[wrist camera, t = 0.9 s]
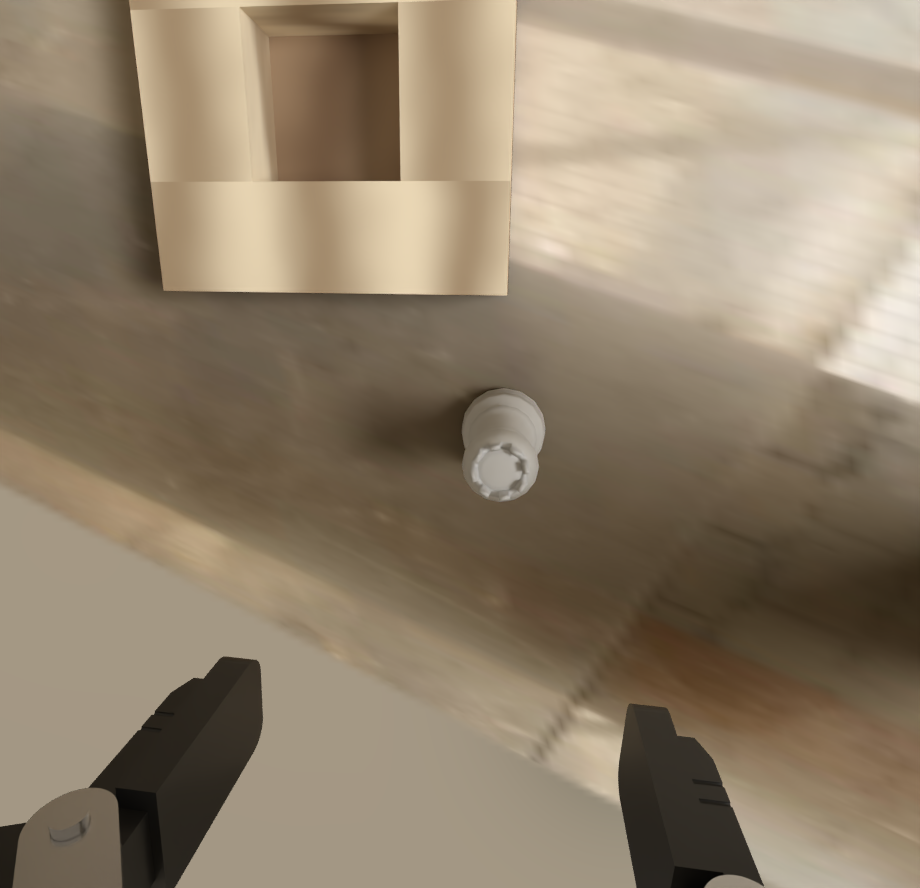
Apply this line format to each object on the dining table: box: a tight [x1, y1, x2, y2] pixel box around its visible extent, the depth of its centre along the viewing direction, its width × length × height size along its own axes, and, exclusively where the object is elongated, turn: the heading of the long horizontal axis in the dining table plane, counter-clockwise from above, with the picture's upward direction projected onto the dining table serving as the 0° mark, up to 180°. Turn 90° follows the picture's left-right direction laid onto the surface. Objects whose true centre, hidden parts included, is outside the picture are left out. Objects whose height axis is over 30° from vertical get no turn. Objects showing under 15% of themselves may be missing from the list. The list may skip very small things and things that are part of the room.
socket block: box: [129, 0, 517, 295], centre depth 26 cm, size 16×16×4 cm
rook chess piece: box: [462, 388, 546, 502], centre depth 28 cm, size 4×4×8 cm
